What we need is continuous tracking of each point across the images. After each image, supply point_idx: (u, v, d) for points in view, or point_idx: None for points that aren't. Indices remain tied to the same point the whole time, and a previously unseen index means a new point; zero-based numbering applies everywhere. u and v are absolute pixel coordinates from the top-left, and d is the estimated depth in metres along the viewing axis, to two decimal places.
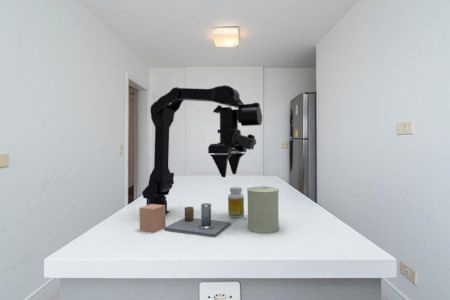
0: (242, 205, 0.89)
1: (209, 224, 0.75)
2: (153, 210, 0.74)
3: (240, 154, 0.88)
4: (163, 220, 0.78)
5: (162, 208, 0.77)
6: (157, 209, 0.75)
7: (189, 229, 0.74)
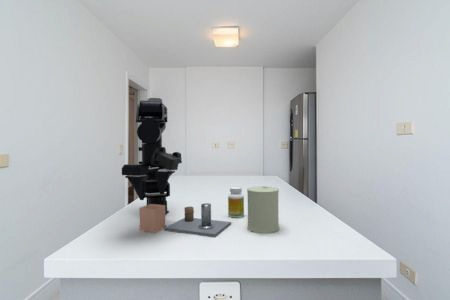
0: (242, 205, 0.89)
1: (209, 224, 0.75)
2: (153, 210, 0.74)
3: (168, 173, 0.81)
4: (163, 220, 0.78)
5: (162, 208, 0.77)
6: (157, 209, 0.75)
7: (189, 229, 0.74)
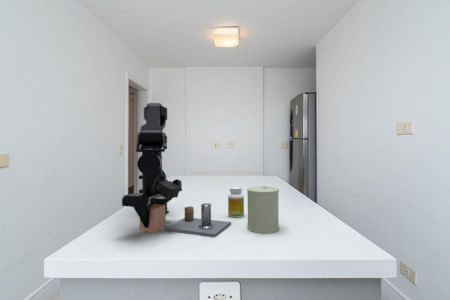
0: (242, 205, 0.89)
1: (209, 224, 0.75)
2: (153, 210, 0.74)
3: (165, 200, 0.79)
4: (163, 220, 0.78)
5: (162, 208, 0.77)
6: (157, 209, 0.75)
7: (189, 229, 0.74)
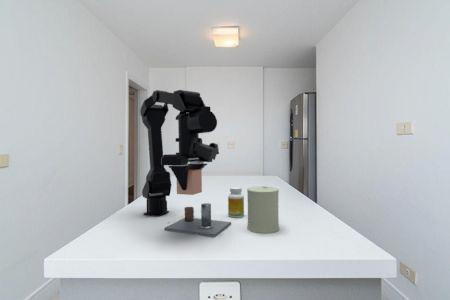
0: (242, 205, 0.89)
1: (209, 224, 0.75)
2: (191, 172, 0.72)
3: (201, 165, 0.78)
4: (200, 184, 0.76)
5: (199, 172, 0.76)
6: (194, 172, 0.74)
7: (189, 229, 0.74)
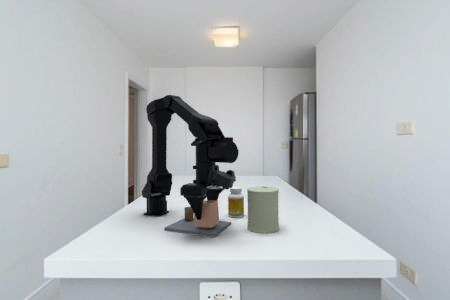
0: (242, 205, 0.89)
1: None
2: (209, 204, 0.73)
3: (219, 190, 0.79)
4: (217, 215, 0.76)
5: (216, 203, 0.76)
6: (212, 203, 0.74)
7: (189, 229, 0.74)
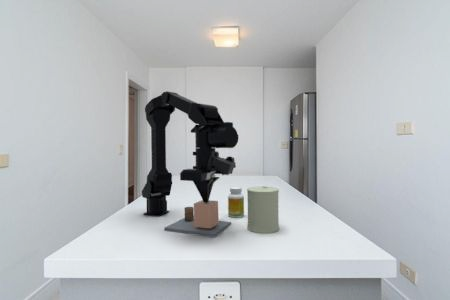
0: (242, 205, 0.89)
1: None
2: (209, 205, 0.73)
3: (213, 179, 0.76)
4: (217, 216, 0.76)
5: (216, 204, 0.76)
6: (212, 204, 0.74)
7: (189, 229, 0.74)
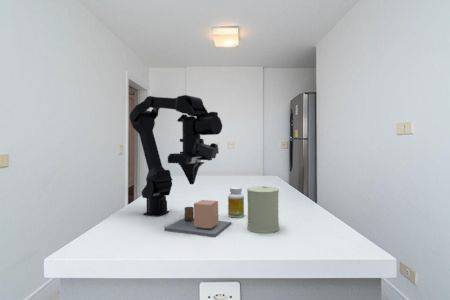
0: (242, 205, 0.89)
1: None
2: (209, 206, 0.73)
3: (198, 163, 0.84)
4: (216, 216, 0.76)
5: (216, 204, 0.76)
6: (212, 205, 0.74)
7: (189, 229, 0.74)
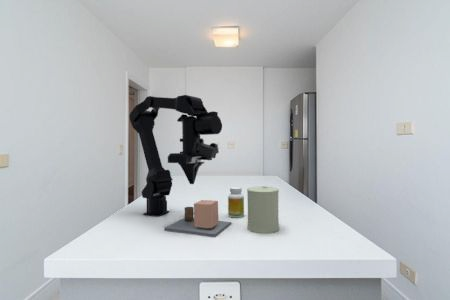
0: (242, 205, 0.89)
1: None
2: (209, 205, 0.73)
3: None
4: (217, 216, 0.76)
5: (216, 203, 0.76)
6: (212, 204, 0.74)
7: (189, 229, 0.74)
